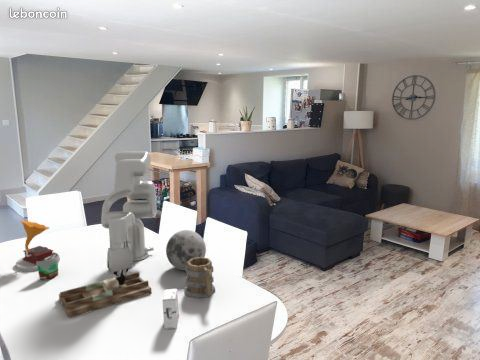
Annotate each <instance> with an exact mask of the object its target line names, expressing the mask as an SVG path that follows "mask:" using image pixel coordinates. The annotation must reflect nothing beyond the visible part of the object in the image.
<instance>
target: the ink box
mask: <svg viewBox="0 0 480 360" xmlns="http://www.w3.org/2000/svg"><path fill="white" fill-rule="evenodd" d="M162 311H163V325H164V326H163V328H164V329H165V330H169V329H177V328H178V324H179V318H180V312H179V295H178V289H177V288H169V289H168V288H167V289H164V293H163V297H162Z"/></svg>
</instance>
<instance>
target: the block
mask: <svg viewBox="0 0 480 360" xmlns="http://www.w3.org/2000/svg"><path fill="white" fill-rule="evenodd" d="M102 281H103V288H104V290H105V291H106V292H107V291H111V290H115V289H118V288H119V284H118V281H117V280H116V277H114V276H113V277H110V278H107V279H103V280H102Z"/></svg>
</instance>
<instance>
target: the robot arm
mask: <svg viewBox="0 0 480 360" xmlns="http://www.w3.org/2000/svg"><path fill="white" fill-rule="evenodd" d="M151 158H152V157H151V155H150V153H149V152H148V151H145V150H144V151H143V150H142V151H140V150H136V151H134V150H130V151H129V150H125V151H124V150H123V151H119V152H116V153H115V154H114V160H115V163H116V164H115V172H114V174H115V175H114V185H113V186H114V188H113V190H112V191H111V192H110V193H109V194H108V195H107V197H106V198H105V199H104V202H103V204H102V207H101V218H100V220H101V222H100V223H101V226H102V227H103V228H104V229H108V233H109V234H108V235H109V236H108V237H109V247H108V248H107V256H106V257H107V258H106V267H107V269H108V271H107V274H108V275H115V276H116V277H117V281H118V283H119V284H120V285H122V284H123V285H124V282H125V275H127V273H128V271H130V270H132V269H133V268H134V267H133V263H134V262H137V261H142V260H145V259H146V258H148V256H149V252H152V251H154V247H152V246H151V247H150V246H147V247H146V244H145V243H146V242H145V226H144V223H143V221H142V220H141V219H152V218H155V217H156V216H157V211H158V207H157V193H156V184H155V183H154V182H153V181H150V180H141V177H145V176H146V175H147V174H148V173H149V168H150V165H151ZM125 197H126V198H127V199H129V200H130V199H131V200H130V201H126V202H125V203H124V204H123V206H122V211H110V209H111V207H112V206H113V204H114V203H115V202H117V201H118V200H120V199H122V198H125ZM133 261H134V262H133Z"/></svg>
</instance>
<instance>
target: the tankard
mask: <svg viewBox="0 0 480 360" xmlns="http://www.w3.org/2000/svg"><path fill="white" fill-rule="evenodd" d="M213 272H214V266H213V262H212V261H211V259H210V258H208V257H201V258H200V257H197V258H192V259H190V260H189V261H188V262H187V267H186V270H185V273H186V275H187V276H186V278H185V282H186V284H187V285H186V286H185V287H184V292H185V294H186V295H187V296H188V297H190V296H192V297H191V298H195V297H196V298H197V299H202V298H207V297H210V296H212V294H213V293H215V291H216V287H215V285H214V284H213V283H214V276H213ZM206 296H207V297H206ZM201 297H202V298H201Z"/></svg>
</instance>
